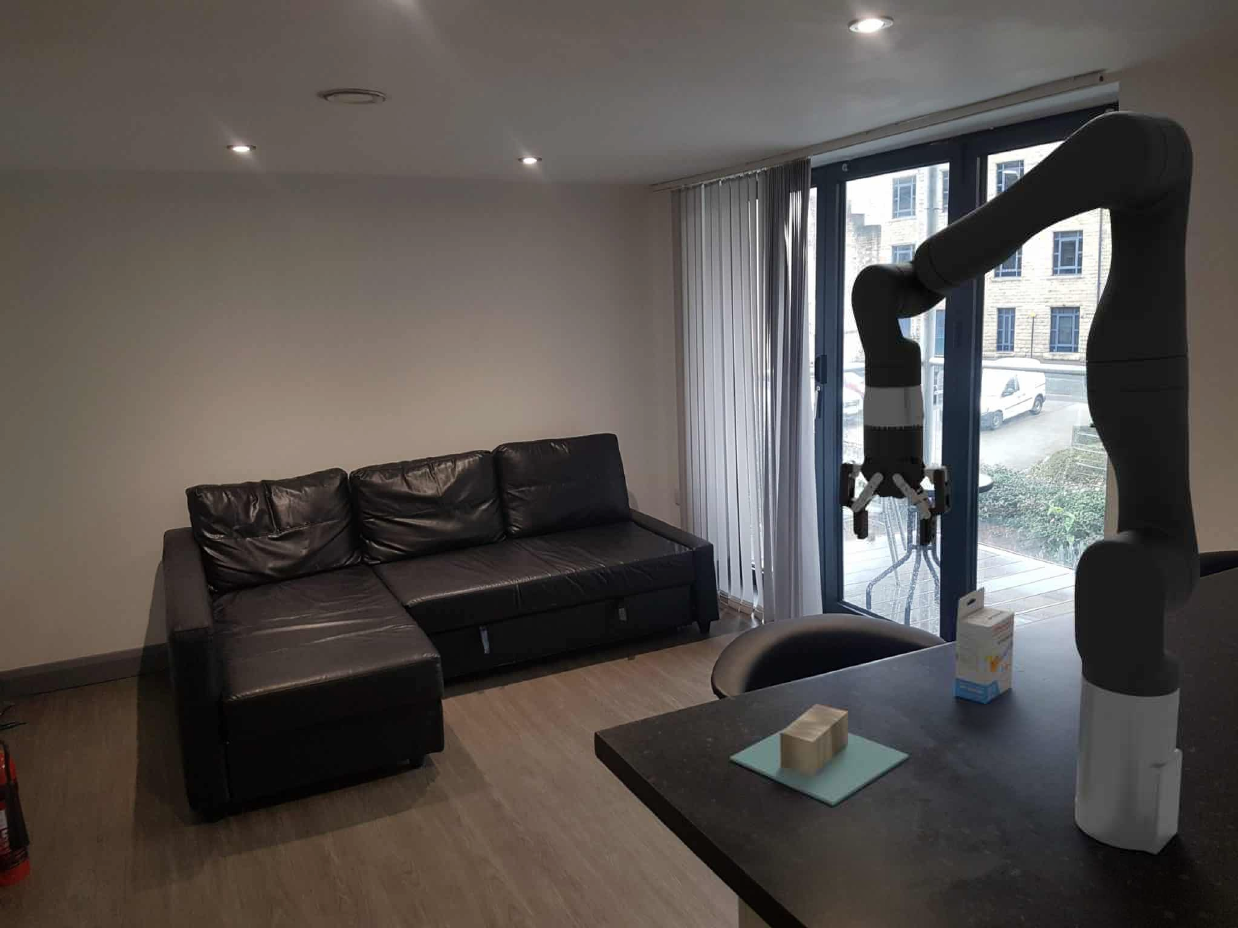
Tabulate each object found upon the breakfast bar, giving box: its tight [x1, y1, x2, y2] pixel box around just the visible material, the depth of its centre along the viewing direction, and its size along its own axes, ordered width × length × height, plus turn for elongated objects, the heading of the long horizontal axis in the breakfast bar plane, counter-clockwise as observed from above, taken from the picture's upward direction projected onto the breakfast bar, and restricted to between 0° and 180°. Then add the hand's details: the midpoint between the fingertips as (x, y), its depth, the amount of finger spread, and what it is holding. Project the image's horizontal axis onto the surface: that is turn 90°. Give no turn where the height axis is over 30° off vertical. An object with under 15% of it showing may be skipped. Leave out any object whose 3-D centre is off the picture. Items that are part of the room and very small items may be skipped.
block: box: [780, 703, 849, 776], centre depth 122 cm, size 4×4×10 cm
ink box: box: [954, 586, 1015, 705], centre depth 138 cm, size 8×5×15 cm, turn 134°
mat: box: [729, 728, 909, 807], centre depth 122 cm, size 16×16×1 cm
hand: (893, 541), depth 126 cm, fingers open, 8 cm apart
